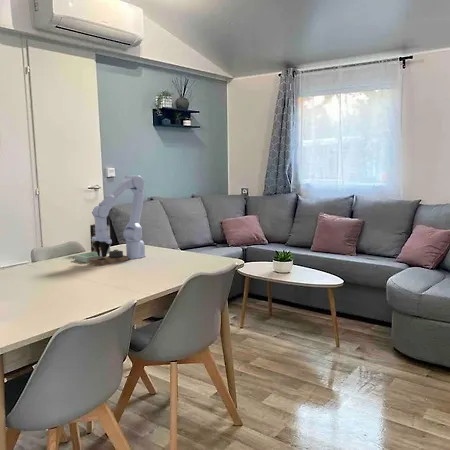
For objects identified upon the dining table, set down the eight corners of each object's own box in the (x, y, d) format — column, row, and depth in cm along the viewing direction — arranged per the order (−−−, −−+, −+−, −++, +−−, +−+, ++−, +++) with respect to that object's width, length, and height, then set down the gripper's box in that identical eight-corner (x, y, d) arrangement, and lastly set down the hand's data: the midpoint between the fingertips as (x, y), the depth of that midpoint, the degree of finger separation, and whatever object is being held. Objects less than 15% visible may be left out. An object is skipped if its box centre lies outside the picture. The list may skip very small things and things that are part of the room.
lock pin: (103, 261, 241) (102, 246, 240) (107, 262, 239) (106, 246, 238) (98, 262, 239) (97, 247, 238) (101, 263, 237) (101, 247, 236)
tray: (93, 257, 254) (92, 251, 254) (105, 259, 247) (105, 254, 246) (74, 260, 246) (74, 254, 245) (86, 263, 238) (86, 257, 238)
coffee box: (90, 253, 263) (89, 225, 261) (97, 251, 270) (95, 223, 267) (105, 254, 261) (103, 225, 259) (111, 252, 267) (110, 224, 265)
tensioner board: (118, 257, 251) (118, 247, 251) (128, 259, 246) (127, 249, 246) (89, 263, 238) (89, 253, 237) (98, 265, 233) (98, 255, 232)
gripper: (86, 229, 238) (87, 255, 240) (102, 232, 229) (104, 259, 231) (97, 227, 244) (99, 253, 246) (114, 230, 234) (115, 257, 236)
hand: (102, 256), depth 239 cm, fingers closed on lock pin, 3 cm apart
